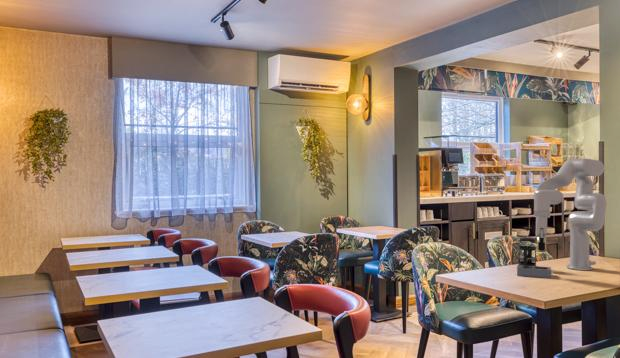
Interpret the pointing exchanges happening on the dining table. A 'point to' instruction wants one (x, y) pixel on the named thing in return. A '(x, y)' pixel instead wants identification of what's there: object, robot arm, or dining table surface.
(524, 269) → the block
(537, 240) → the brass fitting
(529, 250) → the french press
